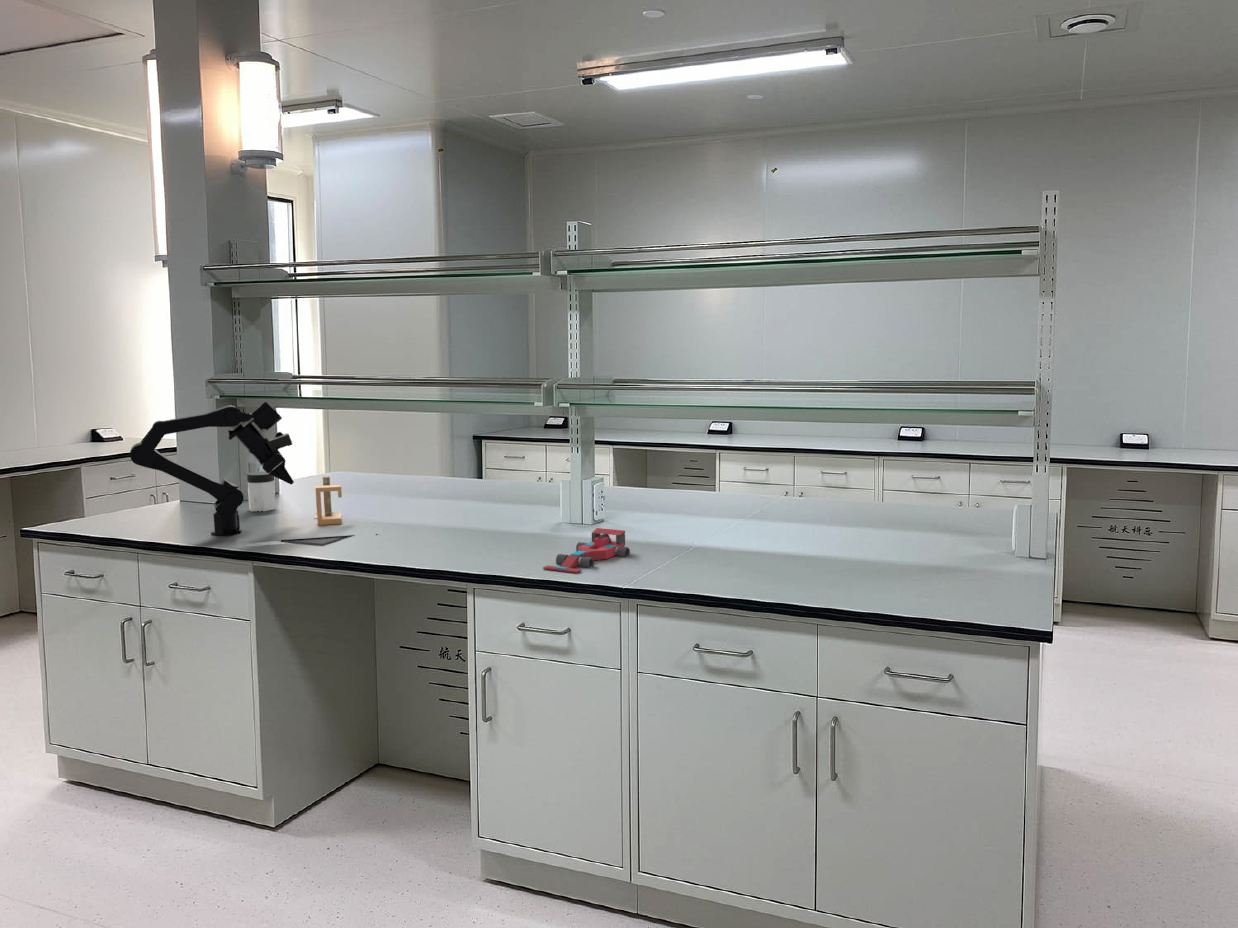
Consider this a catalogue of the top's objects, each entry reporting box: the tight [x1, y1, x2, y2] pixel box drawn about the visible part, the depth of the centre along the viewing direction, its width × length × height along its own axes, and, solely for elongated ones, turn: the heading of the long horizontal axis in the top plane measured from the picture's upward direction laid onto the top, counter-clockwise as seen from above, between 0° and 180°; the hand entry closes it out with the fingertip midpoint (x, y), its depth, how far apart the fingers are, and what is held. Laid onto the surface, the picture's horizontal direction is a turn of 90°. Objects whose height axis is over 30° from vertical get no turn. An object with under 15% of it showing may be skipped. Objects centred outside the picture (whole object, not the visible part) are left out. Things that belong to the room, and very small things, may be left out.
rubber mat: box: [280, 534, 355, 546], centre depth 271 cm, size 14×14×1 cm
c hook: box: [315, 484, 343, 526], centre depth 287 cm, size 7×4×11 cm, turn 106°
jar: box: [246, 471, 277, 513], centre depth 317 cm, size 9×8×12 cm
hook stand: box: [313, 476, 343, 520], centre depth 294 cm, size 8×20×13 cm, turn 16°
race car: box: [542, 527, 631, 574], centre depth 240 cm, size 14×6×25 cm
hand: (291, 481), depth 286 cm, fingers open, 9 cm apart
